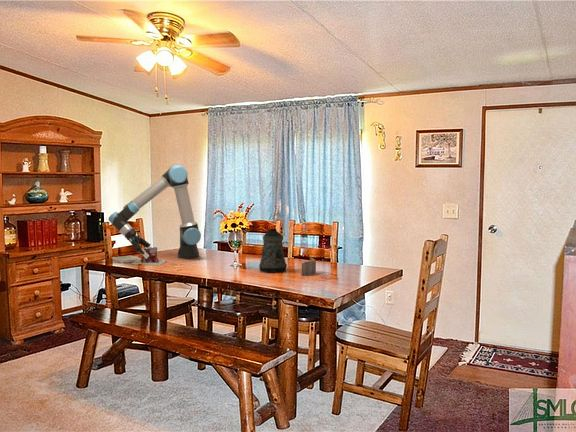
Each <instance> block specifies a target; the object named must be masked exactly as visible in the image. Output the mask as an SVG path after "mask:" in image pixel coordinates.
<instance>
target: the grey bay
mask: <svg viewBox="0 0 576 432" xmlns="http://www.w3.org/2000/svg"><path fill="white" fill-rule="evenodd" d="M158 260H159V261H158V263H153V262H152V263H141V262H140V261H141V260H137V261H135V262H131V265H132V266H134V265H133V264H136V265H135V266H138V265H137V264H146V265H145V266H156V265H160V266H162V265H163V263H164V262H166V263H167V259H158ZM138 262H140V263H138ZM161 264H162V265H161ZM164 264H165V263H164Z"/></svg>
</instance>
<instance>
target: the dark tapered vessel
mask: <svg viewBox="0 0 576 432" xmlns="http://www.w3.org/2000/svg"><path fill="white" fill-rule="evenodd" d="M265 232H266V233H265V234H263V236H262V240H263V245H262V252H261V259H260V262H259V264H258V266H259V272H261V273H267V274H281V272H282V273H284V272H286V271H287V268H288V267H287V266H288V265H287V263H286V259H285V254H284V246H283V240H284V236H283V235H282V234H281V233H280V232H279V231H278V229H276V228H269V229H268V231H265Z"/></svg>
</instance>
